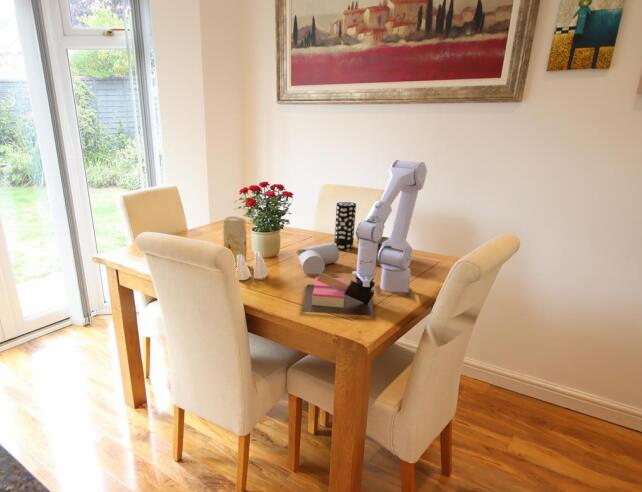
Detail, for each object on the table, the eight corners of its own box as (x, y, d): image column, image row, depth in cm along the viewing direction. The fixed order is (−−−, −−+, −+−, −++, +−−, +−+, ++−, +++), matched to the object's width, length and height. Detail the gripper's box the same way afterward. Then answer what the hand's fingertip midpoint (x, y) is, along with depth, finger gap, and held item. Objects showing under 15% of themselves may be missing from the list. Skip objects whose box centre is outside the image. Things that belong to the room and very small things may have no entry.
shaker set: (268, 277, 176) (268, 249, 172) (268, 281, 173) (268, 253, 168) (237, 276, 178) (236, 249, 173) (236, 280, 174) (235, 252, 169)
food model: (248, 262, 193) (247, 215, 185) (245, 268, 187) (244, 219, 179) (225, 261, 195) (224, 215, 187) (221, 266, 189) (219, 219, 181)
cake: (344, 289, 161) (344, 278, 159) (344, 298, 154) (344, 287, 152) (315, 287, 163) (315, 276, 161) (313, 296, 156) (314, 285, 154)
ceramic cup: (396, 265, 186) (398, 241, 182) (375, 268, 182) (377, 244, 178) (376, 256, 197) (378, 233, 193) (356, 259, 193) (358, 236, 189)
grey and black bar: (367, 301, 150) (373, 290, 149) (367, 304, 148) (374, 293, 146) (317, 278, 151) (323, 267, 149) (316, 281, 149) (322, 269, 147)
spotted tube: (330, 246, 211) (333, 202, 203) (347, 244, 213) (349, 201, 205) (339, 251, 203) (342, 206, 196) (356, 249, 206) (359, 205, 198)
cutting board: (369, 290, 162) (370, 287, 161) (374, 319, 141) (374, 316, 141) (307, 287, 166) (307, 284, 166) (302, 314, 145) (302, 311, 145)
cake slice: (344, 302, 151) (345, 290, 149) (343, 307, 147) (344, 296, 145) (313, 299, 153) (314, 288, 152) (311, 305, 149) (312, 293, 148)
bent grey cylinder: (290, 257, 194) (296, 274, 175) (297, 233, 189) (303, 248, 171) (331, 265, 195) (341, 282, 177) (338, 241, 191) (349, 256, 173)
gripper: (353, 251, 151) (350, 290, 156) (354, 266, 138) (351, 307, 143) (375, 252, 150) (371, 291, 155) (378, 267, 137) (374, 309, 142)
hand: (363, 299), depth 149 cm, fingers closed on grey and black bar, 2 cm apart
